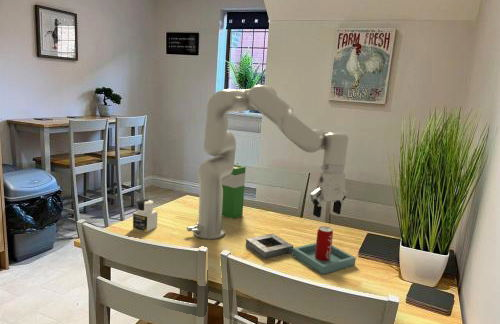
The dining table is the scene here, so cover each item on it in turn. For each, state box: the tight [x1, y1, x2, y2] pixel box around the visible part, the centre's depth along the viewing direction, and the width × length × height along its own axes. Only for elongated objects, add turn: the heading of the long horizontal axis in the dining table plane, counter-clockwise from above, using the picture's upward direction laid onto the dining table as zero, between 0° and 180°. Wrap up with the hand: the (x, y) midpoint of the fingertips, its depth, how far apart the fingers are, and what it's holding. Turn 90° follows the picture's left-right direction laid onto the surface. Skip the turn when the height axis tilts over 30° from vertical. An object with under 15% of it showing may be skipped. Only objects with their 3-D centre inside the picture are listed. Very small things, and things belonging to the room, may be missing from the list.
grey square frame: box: [245, 233, 294, 261], centre depth 138 cm, size 13×13×3 cm
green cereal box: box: [221, 164, 246, 220], centre depth 174 cm, size 18×7×24 cm, turn 54°
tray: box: [291, 242, 357, 276], centre depth 132 cm, size 16×16×3 cm
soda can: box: [315, 225, 334, 262], centre depth 131 cm, size 6×6×12 cm
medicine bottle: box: [132, 198, 158, 233], centre depth 150 cm, size 7×7×12 cm
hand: (326, 214), depth 129 cm, fingers open, 9 cm apart
